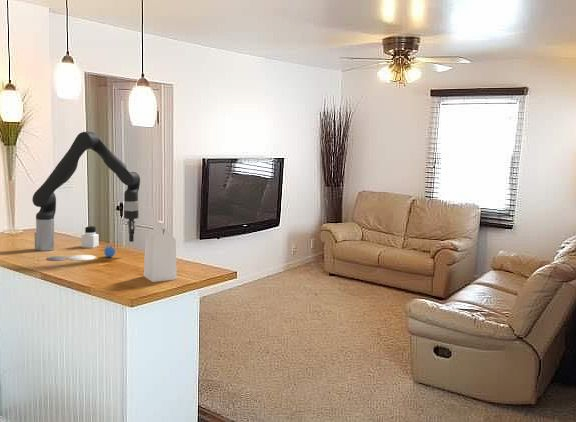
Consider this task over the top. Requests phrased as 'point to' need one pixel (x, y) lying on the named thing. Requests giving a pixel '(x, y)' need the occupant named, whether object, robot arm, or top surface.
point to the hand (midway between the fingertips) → (131, 241)
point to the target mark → (81, 257)
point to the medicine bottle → (90, 238)
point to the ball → (109, 251)
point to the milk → (160, 255)
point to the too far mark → (56, 258)
